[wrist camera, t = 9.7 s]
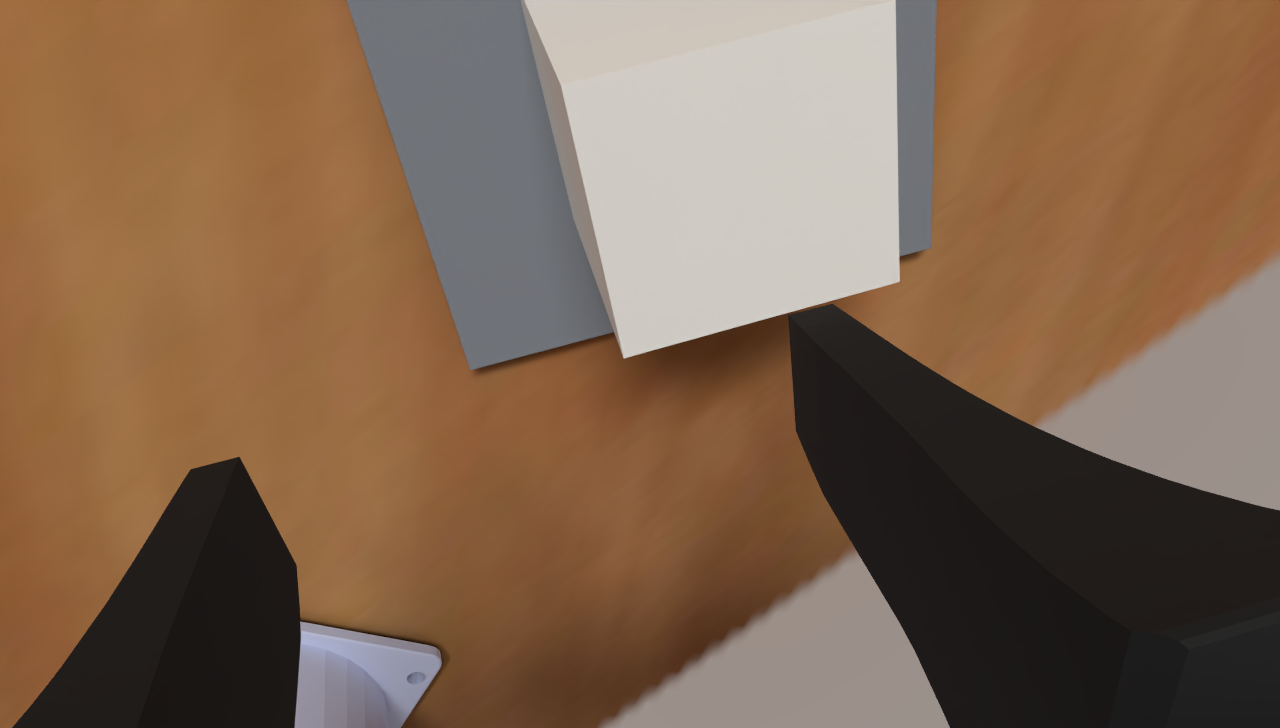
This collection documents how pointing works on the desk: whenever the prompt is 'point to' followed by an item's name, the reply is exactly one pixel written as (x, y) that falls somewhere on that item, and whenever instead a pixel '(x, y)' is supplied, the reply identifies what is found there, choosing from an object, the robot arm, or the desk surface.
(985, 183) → the desk surface
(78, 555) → the desk surface
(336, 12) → the desk surface
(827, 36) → the cube
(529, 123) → the mat
